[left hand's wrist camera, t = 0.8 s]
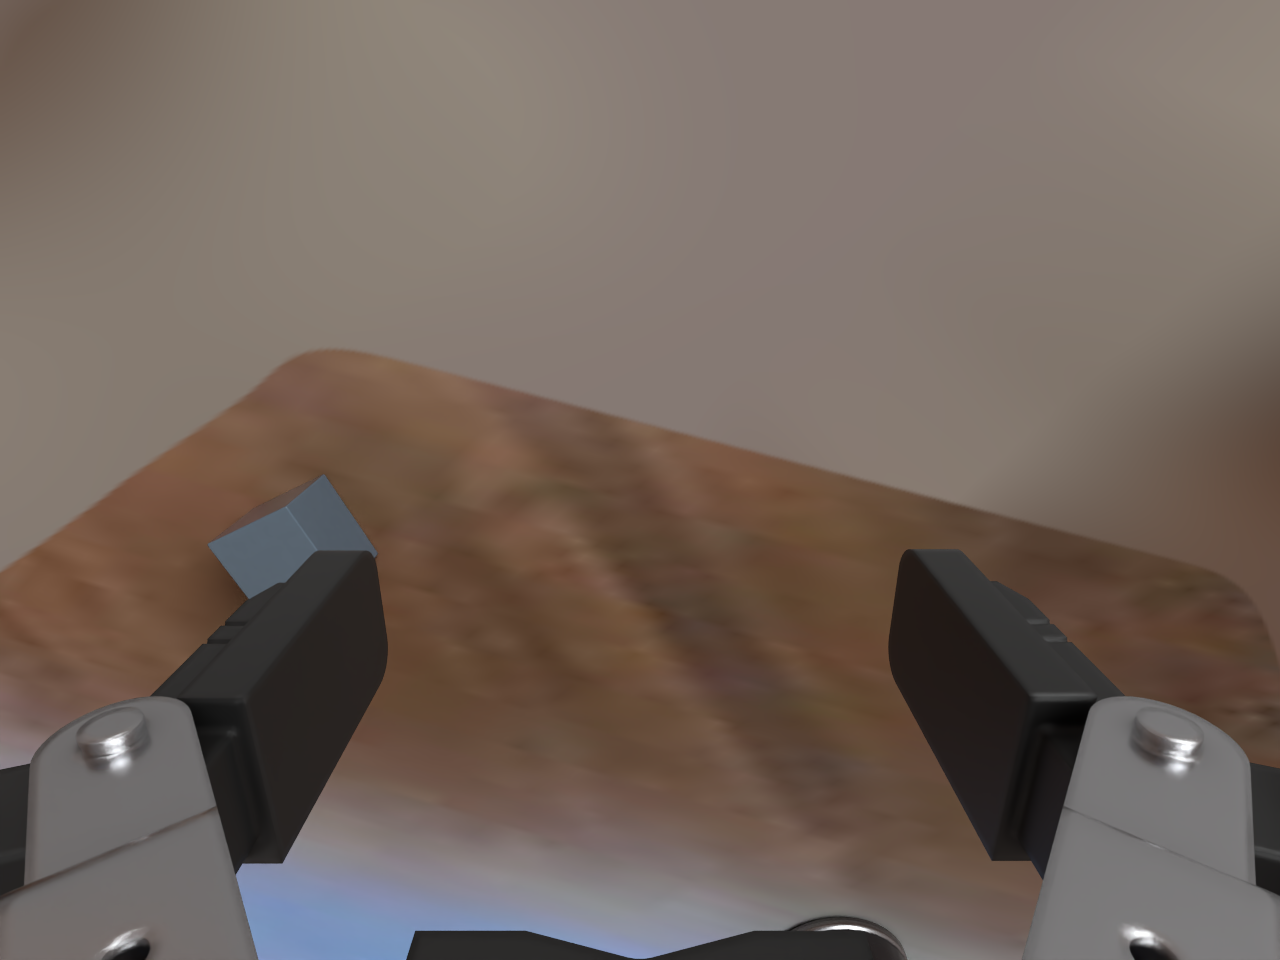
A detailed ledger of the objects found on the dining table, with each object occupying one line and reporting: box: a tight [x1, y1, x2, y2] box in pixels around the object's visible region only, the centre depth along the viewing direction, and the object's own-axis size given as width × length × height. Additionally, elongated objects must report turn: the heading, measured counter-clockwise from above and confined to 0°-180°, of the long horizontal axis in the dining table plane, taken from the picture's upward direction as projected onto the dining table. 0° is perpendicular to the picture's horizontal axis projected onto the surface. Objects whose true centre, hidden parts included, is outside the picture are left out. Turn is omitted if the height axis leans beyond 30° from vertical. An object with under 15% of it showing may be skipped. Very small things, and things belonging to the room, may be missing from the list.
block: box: [208, 475, 378, 599], centre depth 34 cm, size 4×5×4 cm
